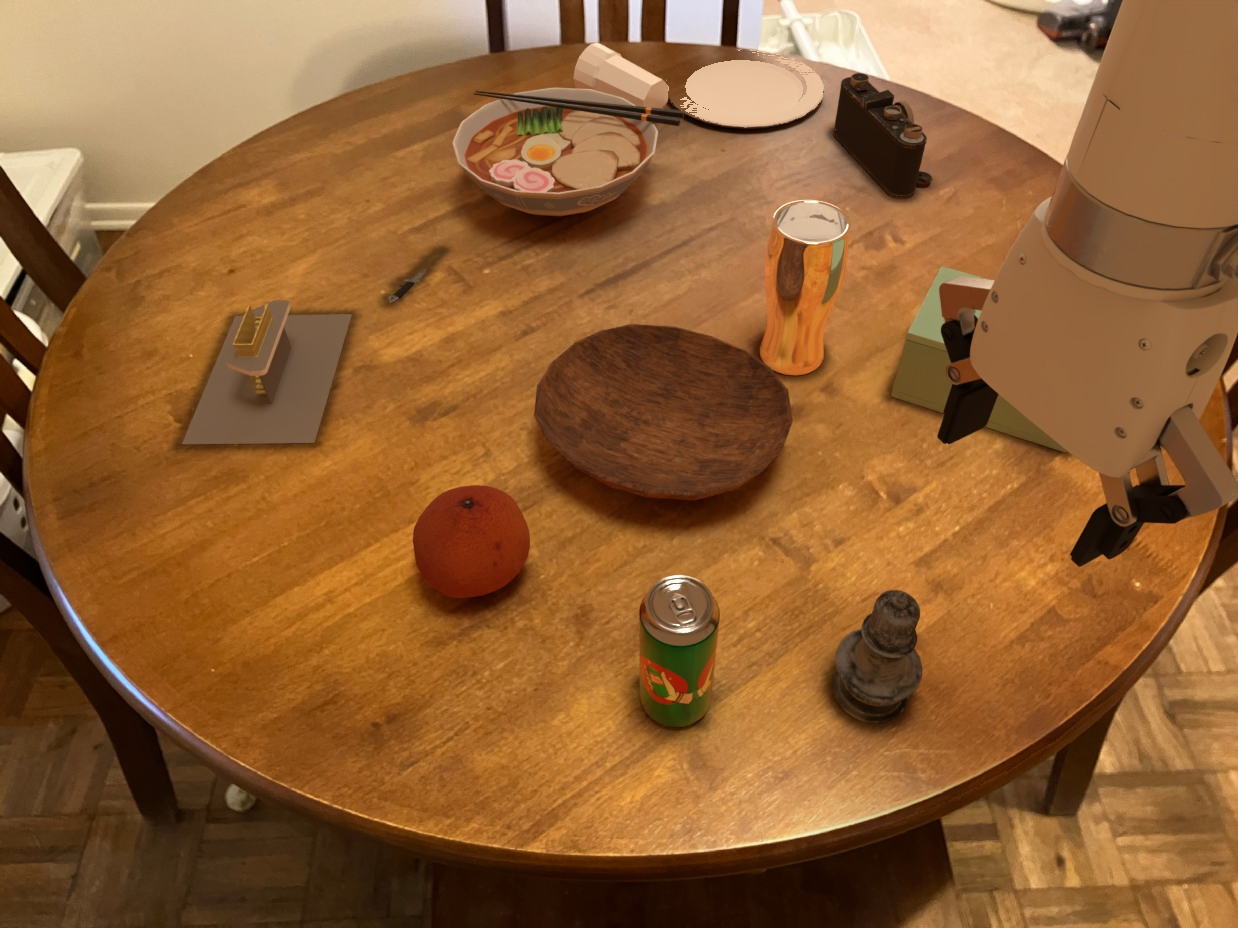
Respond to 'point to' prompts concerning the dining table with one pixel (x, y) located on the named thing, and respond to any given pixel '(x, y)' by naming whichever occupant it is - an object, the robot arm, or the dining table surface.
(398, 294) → the knife
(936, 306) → the lunchbox lid
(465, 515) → the fruit
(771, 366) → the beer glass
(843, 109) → the camera
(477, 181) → the ramen bowl
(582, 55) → the cup
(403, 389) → the dining table surface
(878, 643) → the chess piece
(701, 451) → the bowl
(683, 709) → the soda can
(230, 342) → the platform
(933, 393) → the box
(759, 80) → the plate
